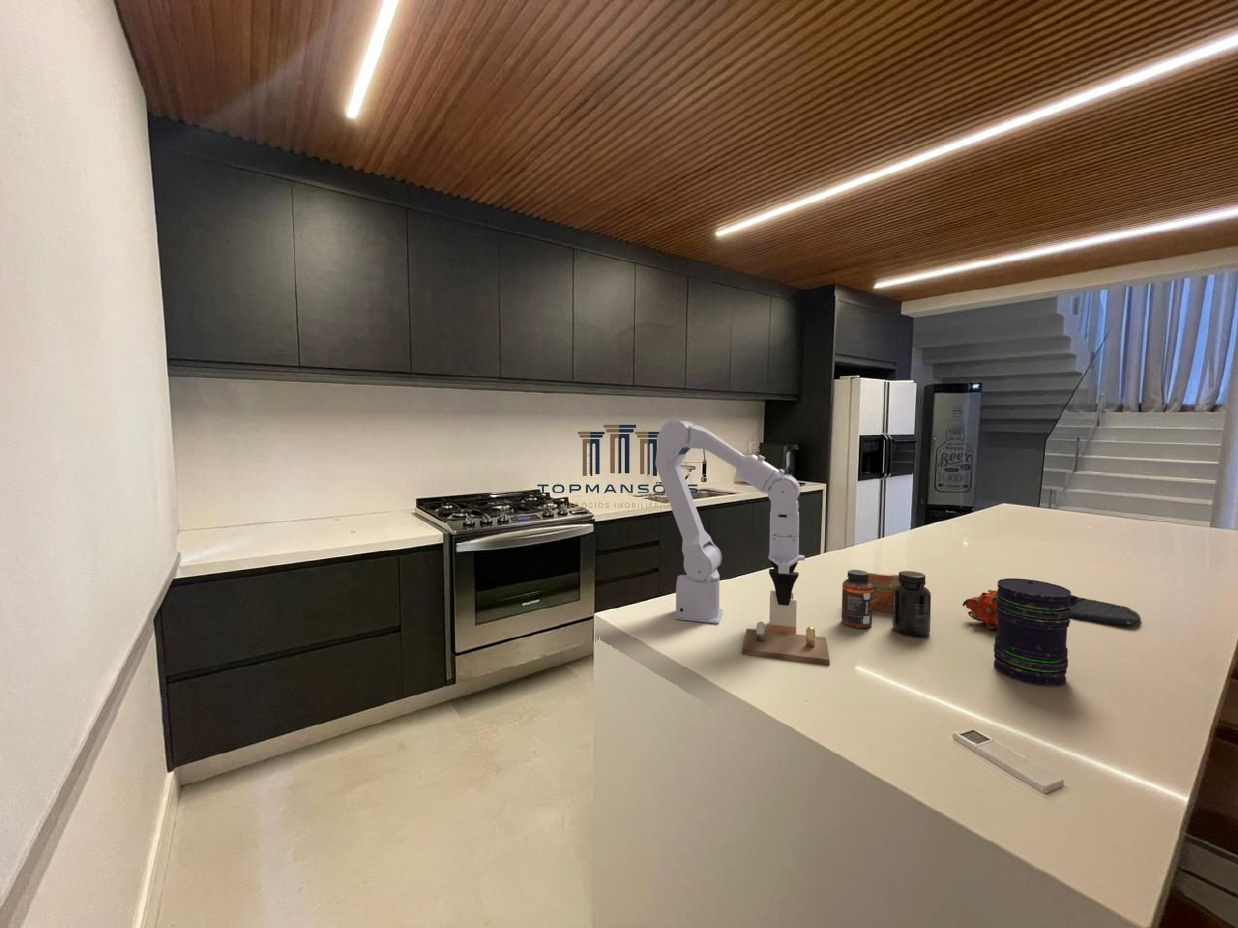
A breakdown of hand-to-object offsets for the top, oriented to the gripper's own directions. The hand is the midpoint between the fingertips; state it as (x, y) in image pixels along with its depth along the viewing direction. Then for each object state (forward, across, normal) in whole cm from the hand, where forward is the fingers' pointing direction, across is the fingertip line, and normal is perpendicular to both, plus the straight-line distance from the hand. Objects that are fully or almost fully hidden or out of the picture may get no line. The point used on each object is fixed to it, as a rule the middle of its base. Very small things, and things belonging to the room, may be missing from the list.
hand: (783, 598), depth 107 cm
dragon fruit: (+7, +13, -42) cm, 44 cm away
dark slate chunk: (+7, +30, -62) cm, 69 cm away
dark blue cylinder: (+7, -8, -40) cm, 41 cm away
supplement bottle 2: (+7, +6, -25) cm, 26 cm away
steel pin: (+5, -10, +4) cm, 12 cm away
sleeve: (+6, 0, 0) cm, 6 cm away
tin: (+7, +18, -22) cm, 29 cm away
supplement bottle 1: (+7, +7, -15) cm, 18 cm away
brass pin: (+5, -10, -5) cm, 12 cm away
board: (+6, -10, 0) cm, 12 cm away
